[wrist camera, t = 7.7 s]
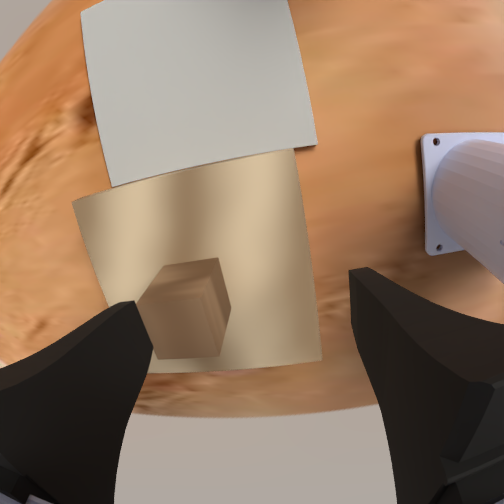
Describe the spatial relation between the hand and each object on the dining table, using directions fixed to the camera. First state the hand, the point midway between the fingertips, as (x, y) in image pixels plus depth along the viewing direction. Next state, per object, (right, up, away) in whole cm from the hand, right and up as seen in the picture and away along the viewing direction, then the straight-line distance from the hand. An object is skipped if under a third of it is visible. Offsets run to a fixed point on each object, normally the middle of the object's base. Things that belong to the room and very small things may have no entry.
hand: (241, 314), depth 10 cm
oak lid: (-2, 0, +8) cm, 8 cm away
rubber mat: (-3, +13, +6) cm, 15 cm away
